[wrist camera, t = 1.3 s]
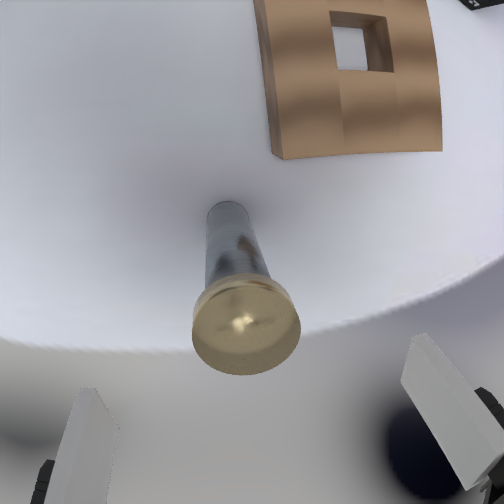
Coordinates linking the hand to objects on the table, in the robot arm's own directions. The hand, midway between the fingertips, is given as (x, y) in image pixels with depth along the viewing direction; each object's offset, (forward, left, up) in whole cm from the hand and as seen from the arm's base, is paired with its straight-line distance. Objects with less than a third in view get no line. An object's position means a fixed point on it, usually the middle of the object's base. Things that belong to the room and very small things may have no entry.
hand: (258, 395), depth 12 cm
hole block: (-16, +13, -22) cm, 30 cm away
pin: (0, 0, -22) cm, 22 cm away
